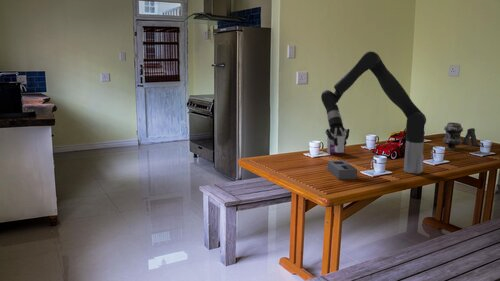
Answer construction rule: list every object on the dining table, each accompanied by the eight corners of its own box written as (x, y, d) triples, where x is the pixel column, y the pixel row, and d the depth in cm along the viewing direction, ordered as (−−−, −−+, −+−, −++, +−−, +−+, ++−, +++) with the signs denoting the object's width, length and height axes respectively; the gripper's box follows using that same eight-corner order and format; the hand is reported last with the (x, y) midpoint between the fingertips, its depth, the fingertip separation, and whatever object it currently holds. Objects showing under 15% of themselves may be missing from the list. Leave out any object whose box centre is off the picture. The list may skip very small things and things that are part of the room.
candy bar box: (341, 151, 283) (342, 127, 280) (345, 153, 279) (346, 129, 275) (326, 152, 280) (327, 128, 277) (329, 154, 276) (330, 129, 272)
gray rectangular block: (341, 150, 235) (342, 134, 233) (343, 152, 231) (344, 136, 229) (334, 150, 234) (335, 135, 232) (336, 152, 230) (337, 136, 229)
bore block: (344, 168, 240) (344, 160, 239) (356, 178, 221) (357, 169, 220) (327, 169, 239) (327, 160, 238) (338, 179, 219) (338, 170, 219)
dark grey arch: (461, 144, 308) (463, 128, 306) (465, 143, 312) (466, 127, 309) (474, 146, 301) (476, 129, 299) (477, 145, 305) (479, 128, 303)
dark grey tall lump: (460, 151, 285) (463, 125, 281) (441, 149, 291) (443, 123, 287) (461, 148, 295) (464, 122, 292) (443, 146, 301) (445, 121, 298)
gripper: (324, 116, 235) (329, 141, 226) (348, 116, 237) (355, 141, 227) (321, 124, 241) (326, 149, 232) (345, 123, 243) (351, 148, 234)
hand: (340, 145), depth 230 cm, fingers closed on gray rectangular block, 4 cm apart
